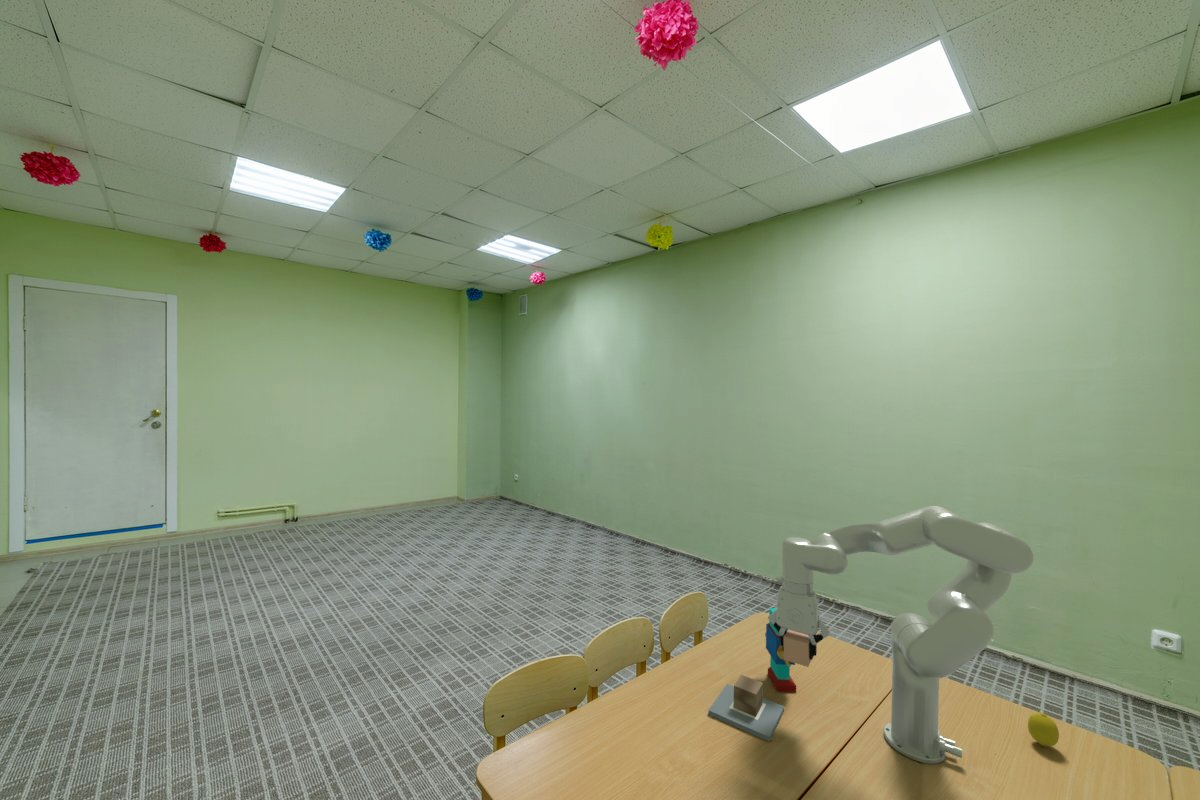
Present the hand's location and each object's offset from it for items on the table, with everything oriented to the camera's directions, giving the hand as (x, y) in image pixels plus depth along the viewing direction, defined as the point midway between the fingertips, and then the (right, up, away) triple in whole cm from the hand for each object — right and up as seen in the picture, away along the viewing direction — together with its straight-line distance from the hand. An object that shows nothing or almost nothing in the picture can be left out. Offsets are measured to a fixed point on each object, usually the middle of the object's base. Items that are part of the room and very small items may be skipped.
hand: (798, 652), depth 121 cm
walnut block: (-13, -16, +3) cm, 21 cm away
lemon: (+57, -19, -8) cm, 61 cm away
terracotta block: (0, -1, 0) cm, 1 cm away
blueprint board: (-13, -17, +2) cm, 22 cm away
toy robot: (+1, -18, +15) cm, 23 cm away
